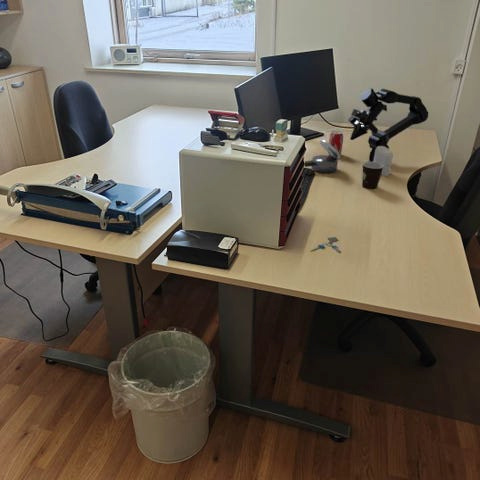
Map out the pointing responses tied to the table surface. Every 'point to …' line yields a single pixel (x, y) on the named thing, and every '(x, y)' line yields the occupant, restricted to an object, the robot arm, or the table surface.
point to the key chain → (332, 239)
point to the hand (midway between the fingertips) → (351, 139)
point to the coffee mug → (371, 174)
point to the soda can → (336, 140)
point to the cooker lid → (330, 149)
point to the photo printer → (383, 159)
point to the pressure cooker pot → (323, 164)
